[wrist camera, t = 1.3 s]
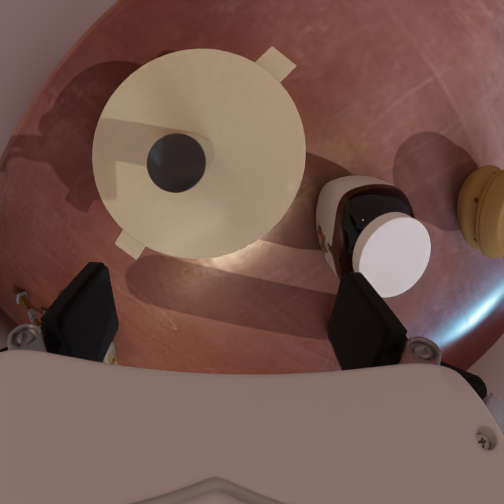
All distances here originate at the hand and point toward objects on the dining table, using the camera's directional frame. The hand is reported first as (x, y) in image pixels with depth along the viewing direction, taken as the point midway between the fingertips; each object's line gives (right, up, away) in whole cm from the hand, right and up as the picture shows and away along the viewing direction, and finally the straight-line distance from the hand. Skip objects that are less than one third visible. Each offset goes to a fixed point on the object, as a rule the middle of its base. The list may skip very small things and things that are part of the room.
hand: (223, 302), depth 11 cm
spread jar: (+13, +5, +20) cm, 25 cm away
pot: (+32, +9, +20) cm, 39 cm away
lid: (-3, +9, +8) cm, 12 cm away
